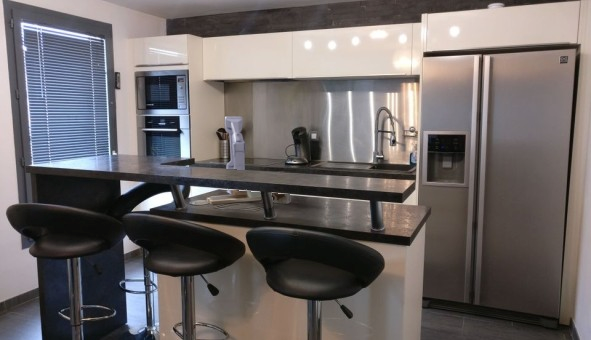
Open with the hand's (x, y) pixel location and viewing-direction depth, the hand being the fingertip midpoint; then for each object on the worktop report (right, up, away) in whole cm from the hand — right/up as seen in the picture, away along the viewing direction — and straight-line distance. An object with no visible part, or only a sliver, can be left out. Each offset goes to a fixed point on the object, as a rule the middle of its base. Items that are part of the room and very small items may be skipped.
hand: (239, 189), depth 242 cm
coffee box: (+23, -7, -4) cm, 24 cm away
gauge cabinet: (+8, -4, +4) cm, 10 cm away
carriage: (0, -4, 0) cm, 4 cm away
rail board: (-2, -6, 0) cm, 6 cm away
